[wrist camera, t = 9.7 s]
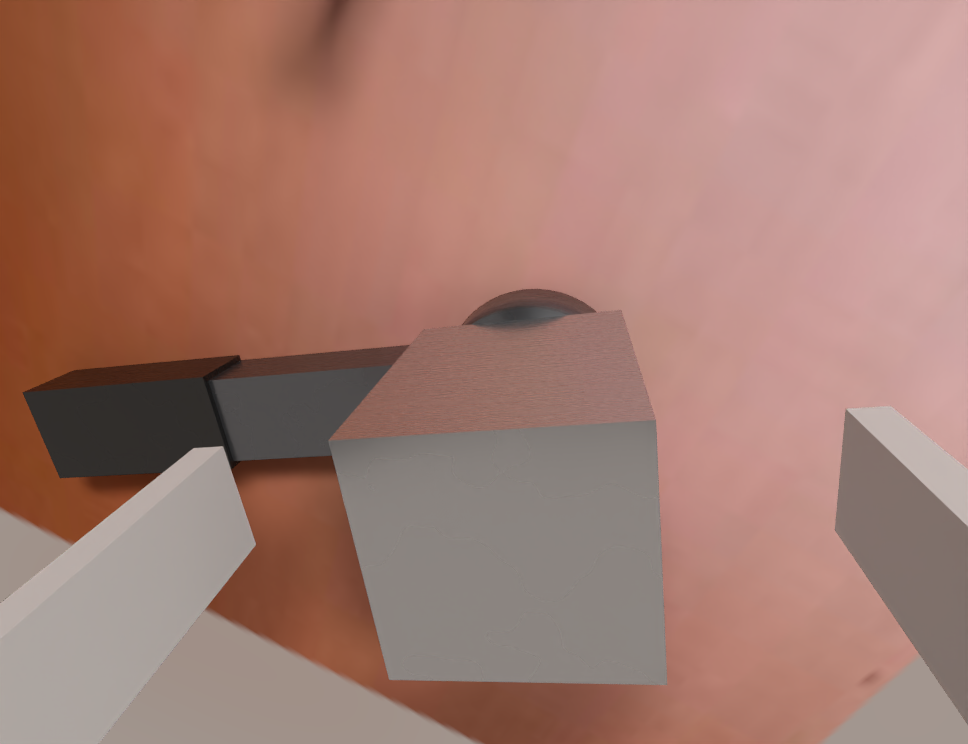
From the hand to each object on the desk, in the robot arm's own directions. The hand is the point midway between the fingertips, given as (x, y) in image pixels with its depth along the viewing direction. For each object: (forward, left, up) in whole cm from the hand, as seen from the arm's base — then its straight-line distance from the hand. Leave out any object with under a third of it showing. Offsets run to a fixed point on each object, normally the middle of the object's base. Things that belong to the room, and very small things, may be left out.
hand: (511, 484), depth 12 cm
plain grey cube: (0, 0, -5) cm, 5 cm away
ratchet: (0, -7, -7) cm, 10 cm away
